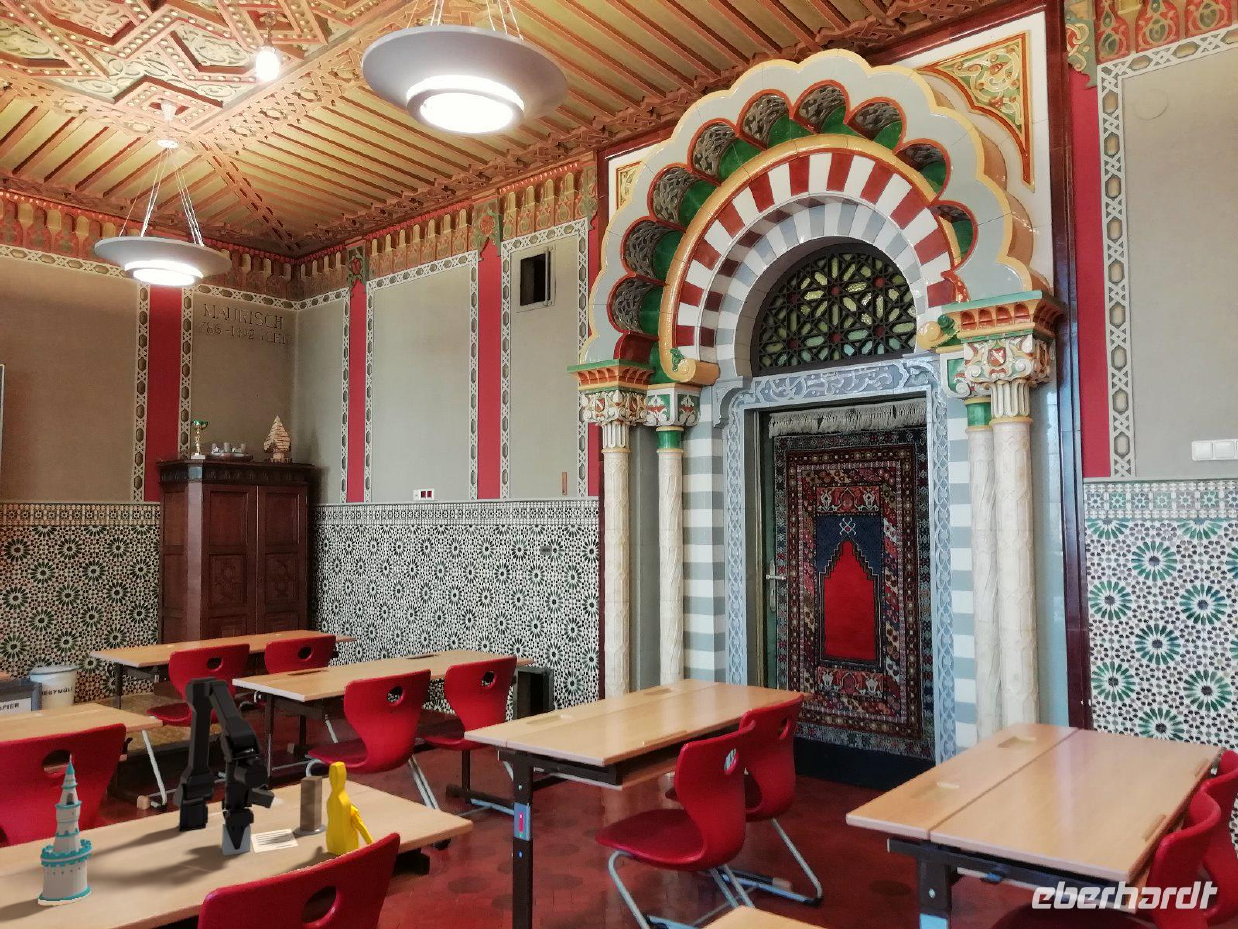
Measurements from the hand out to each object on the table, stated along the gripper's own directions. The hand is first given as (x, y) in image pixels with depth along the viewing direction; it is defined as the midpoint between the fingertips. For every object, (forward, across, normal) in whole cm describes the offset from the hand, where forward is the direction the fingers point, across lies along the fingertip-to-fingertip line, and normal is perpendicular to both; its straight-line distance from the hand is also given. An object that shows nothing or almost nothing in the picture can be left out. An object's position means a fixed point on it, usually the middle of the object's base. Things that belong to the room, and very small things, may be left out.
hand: (236, 845), depth 218 cm
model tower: (+1, -13, +35) cm, 37 cm away
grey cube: (+1, 0, 0) cm, 1 cm away
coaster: (+1, +6, -18) cm, 20 cm away
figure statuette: (+2, -15, -23) cm, 28 cm away
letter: (+1, +3, -9) cm, 10 cm away
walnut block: (+1, +6, -18) cm, 20 cm away
